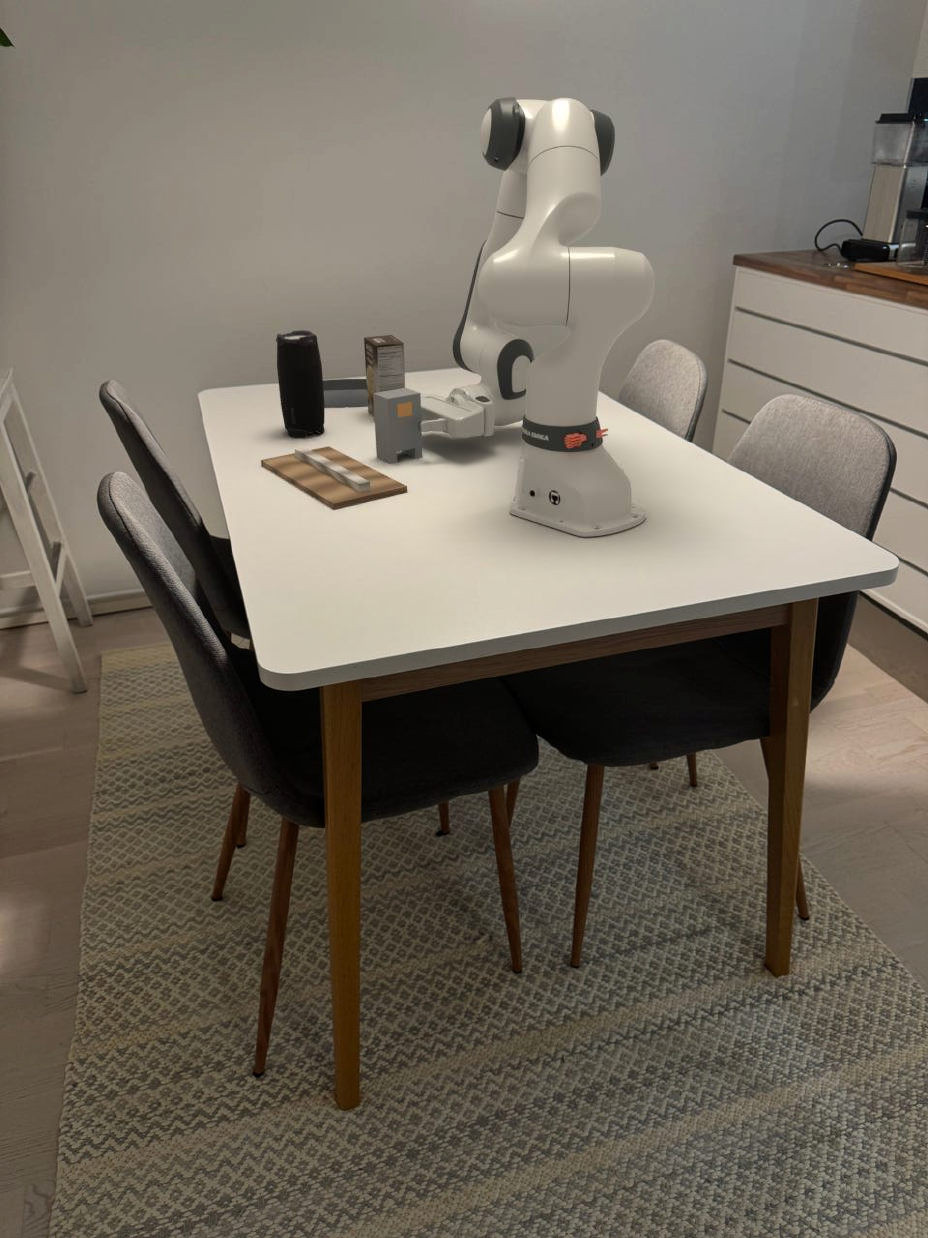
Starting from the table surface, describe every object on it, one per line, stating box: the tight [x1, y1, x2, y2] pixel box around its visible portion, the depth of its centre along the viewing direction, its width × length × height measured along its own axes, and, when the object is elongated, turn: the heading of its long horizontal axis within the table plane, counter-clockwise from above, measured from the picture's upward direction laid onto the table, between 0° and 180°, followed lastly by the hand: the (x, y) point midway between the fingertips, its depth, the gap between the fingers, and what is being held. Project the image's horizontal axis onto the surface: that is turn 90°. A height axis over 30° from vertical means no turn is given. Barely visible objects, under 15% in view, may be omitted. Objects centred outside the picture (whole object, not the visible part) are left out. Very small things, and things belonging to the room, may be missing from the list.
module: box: [373, 387, 423, 465], centre depth 170 cm, size 5×7×12 cm
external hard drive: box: [323, 378, 368, 409], centre depth 209 cm, size 13×19×4 cm
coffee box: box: [363, 334, 406, 417], centre depth 194 cm, size 9×6×16 cm
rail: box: [260, 446, 408, 510], centre depth 162 cm, size 28×14×2 cm, turn 35°
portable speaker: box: [275, 329, 326, 439], centre depth 182 cm, size 9×9×20 cm
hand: (406, 421), depth 170 cm, fingers open, 8 cm apart
